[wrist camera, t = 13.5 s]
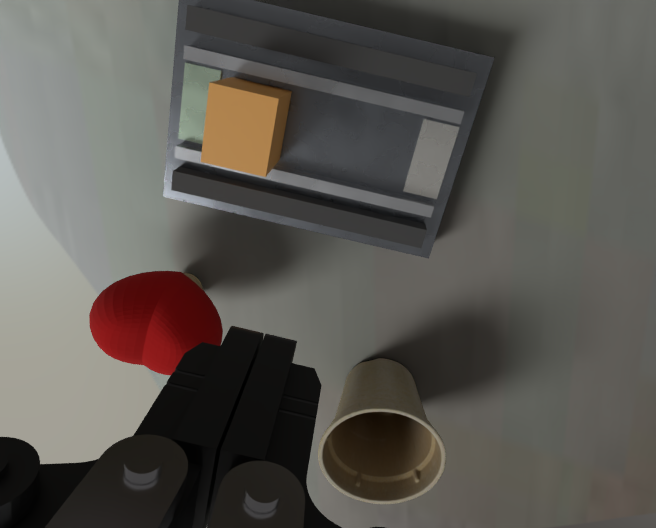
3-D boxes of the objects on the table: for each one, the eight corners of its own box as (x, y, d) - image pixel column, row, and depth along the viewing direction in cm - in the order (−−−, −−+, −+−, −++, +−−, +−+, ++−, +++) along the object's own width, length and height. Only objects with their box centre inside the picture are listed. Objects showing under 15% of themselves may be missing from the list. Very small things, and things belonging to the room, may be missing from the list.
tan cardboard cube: (291, 91, 33) (278, 98, 28) (279, 159, 35) (265, 177, 30) (232, 76, 33) (209, 82, 28) (223, 146, 35) (200, 161, 30)
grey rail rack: (473, 72, 32) (477, 73, 31) (419, 241, 37) (421, 248, 35) (194, 5, 32) (187, 4, 30) (177, 185, 36) (170, 190, 35)
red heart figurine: (130, 300, 44) (66, 368, 34) (143, 228, 41) (77, 281, 32) (233, 333, 44) (196, 409, 35) (253, 264, 41) (219, 328, 32)
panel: (486, 56, 34) (498, 58, 30) (425, 245, 39) (430, 264, 36) (193, -14, 33) (173, -20, 30) (175, 187, 39) (156, 201, 36)
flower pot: (426, 432, 47) (437, 511, 39) (325, 423, 47) (316, 499, 39) (439, 346, 43) (454, 414, 35) (329, 337, 43) (320, 403, 36)
